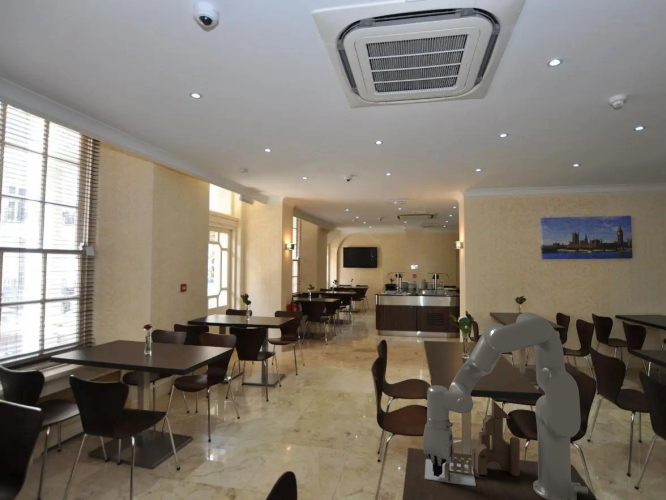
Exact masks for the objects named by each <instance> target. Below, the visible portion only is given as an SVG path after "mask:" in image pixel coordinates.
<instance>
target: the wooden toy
mask: <svg viewBox="0 0 666 500" xmlns="http://www.w3.org/2000/svg"><path fill="white" fill-rule="evenodd" d="M490 413H491V414H487V415H485V417H484V418H483V419H482V431H478V446H477V448H473V447H472V448H471V458H472V467H473V471H474V470H475V472H476V474H477V475H479V476H481V475H482V476H483V475H484V476H487V475H488V464H489V463H496V464H497V465H498V467H499V469H500V470H501V471H503V472H509V474H510V475H511V476H513V477H519V476H520V468H521V467H520V466H521V465H520V464H521V461H520V460H521V459H520V458H521V457H520V453H521V451H520V449H521V443H520V442H521V441H520V440H521V439H520V438H518V437H516V436H511V437H510V438H509V441H506V440H505V439H504V419H511V417H510V415H508V414H507V412H505V411H504V409H503V408H501V406H500V405H499V404H497V402H496V401H495V400H494V399H492V400H491V412H490Z"/></svg>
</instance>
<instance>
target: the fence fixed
mask: <svg viewBox="0 0 666 500" xmlns="http://www.w3.org/2000/svg"><path fill="white" fill-rule="evenodd" d="M452 458H453V462H452V463H453V466H451V470H453V472H454V473H457V470H459V471H461V474H465V471H466V472H468V475H472V457H468V458H467V460H465V458H464V457H460V459H458V457H456V456H452ZM457 464H461V467H458V466H457ZM464 465H468V468H466V467H464Z"/></svg>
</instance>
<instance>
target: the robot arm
mask: <svg viewBox="0 0 666 500" xmlns="http://www.w3.org/2000/svg"><path fill="white" fill-rule="evenodd" d="M531 347H533V350H534V357H535V372H536V373H535V374H536V375H535V378H536V383H537V385H538V386H539V387H540V389H541V390H542V391H543V393H544V395H543V394H542V396H540V397H539V398H538V399H537V400H536V403H535V408H534V409H535V419H536V421H535V422H536V430H537V479H536V480H534V481H533V484H532V485H533V486H532V488H533V490H534V492H535V493H536V494H537V495H538V496H539V497H541V498H543V499H545V500H577V498H578V497H577V494H578V493H581V494H587V495H588V494H589V488H588V487H587V486H582V484H581V483H580V482H573V480H572V477H571V476H572V475H571V473H572V472H571V469H572V467H571V465H572V464H571V438H573V437H575V436H576V435H577V434H578V432H579V431H580V428H581V421H582V420H581V406H580V405H581V404H580V402H581V401H580V392H579V387H578V384H577V381H576V380H575V379H574V377H573V376H572V375H571V374H570V373H569V372H568V371H566V366H565V357H564V355H565V354H564V347H563V344H562V340H561V339H560V336H559V334H558V332H557V331H556V329H555V328H554V326H552V325H551V322H549V321H548V320H547V319H546V318H544V317H542V316H540V315H538V314H537V313H534V312H530V311H529V312H527V311H526V312H523V313H521V314H519V315H518V316H517V318H516V321H515V323H511V324H506V325H503V324H501V323H499V322H498V323H496V322H494V323H490V324H488V325H487V327H486V328H484V330H483V332H482V334H481V335H480V337H479V339H478V341H477V342H476V344H475V346H474V347H473V350H472V351H471V353H470V354H469V357H468V358H467V359H466V361H465V362H464V363H463V365H462V366H461V367H460V368H459V369H458V371H457V373H456V375H455V376H454V378H453V380H452V381H451V384H450V386H449V388H447V387H446V386H444V385H437V384H434V385H431V386H429V387H428V388H427V395H426V396H427V399H426V402H427V404H426V405H427V407H426V408H427V409H426V410H427V411H426V412H427V413H426V418H427V419H426V423H425V425H424V431H423V436H422V437H423V438H422V449H423V451H422V453H423V454H424V455H425V456H427V457H429V458H428V459H430V460H431V462H432V464H433V472H434V474H433V475H434V476H436V477H439V476H440V475H441V474H442V472H443V464H444V463H445V462H447V463H452V462H453V456H454V454H455V443H454V435H453V430H452V428H453V425H454V423H453V422H451V421H450V412H454V413H458V414H464V415H465V414H468V413H470V412H471V411H472V410H473V408H474V400H473V398H472V395H471V393H472V391H473V390H474V388H475V386H476V384H477V383H478V382H479V380H481V378H483V377H484V376H486V375H490V373H492V372H493V370H494V368H495V367H496V365H497V363H498V362H499V360H500V358H501V356H502V354H503V353H504V354H505V353H506V354H507V353H511V352H516V351H519V350H522V349H526V348H531Z"/></svg>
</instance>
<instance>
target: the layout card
mask: <svg viewBox="0 0 666 500" xmlns="http://www.w3.org/2000/svg"><path fill="white" fill-rule="evenodd" d="M445 463H446V462H445ZM445 463H444V464H443V472H442V474H441V475H440V476H439V477H436V476H434V475H433V474H434V472H433V464H432V462H431V459H430V458H426V459H425V466H424V480H429V481H435V482H442V483H449V484H454V485H455V484H456V485H463V486H464V485H465V486H469V487H477V486H476V485H477V484H476V479H475V474H474V468H473V467H472V475H468V472H466V471H465V474H461V471H459V470H457V473H454V472H453V470H451V466H453V463H450V471H449V474H448V482H446V481H445V470H444V467H445ZM457 466H458V467H461V464H457ZM464 467H466V468H468V465H464Z"/></svg>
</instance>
